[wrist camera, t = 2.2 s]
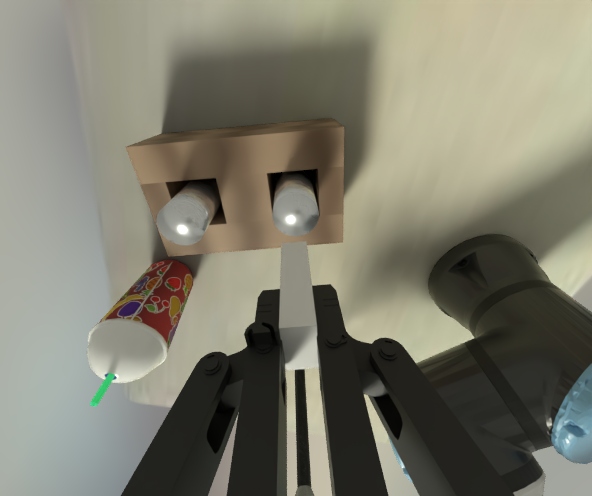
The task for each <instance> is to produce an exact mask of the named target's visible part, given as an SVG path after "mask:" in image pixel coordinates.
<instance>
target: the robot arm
mask: <svg viewBox="0 0 592 496" xmlns="http://www.w3.org/2000/svg"><path fill="white" fill-rule="evenodd" d="M428 288H429V293H430V296H431V297H432V299H433V300H434V302H435V303H436V305H437V306H438V307H439V309H440V310H441V311H442V312H444V313H445V314H447V315H448V316H450V317H452V318H454V319H455V320H456V321H458V322H459V323H460V324H461V325H462V326H464V327H465V328H466V329H468V330H469V331H470V332H471V333H472V335H473V336H474V337H475V338H474V339H472V340H470V341H467V342H465V343H462V344H460V345H458V346H455V347H453V348H451V349H448V350H446V351H444V352H441V353H439V354H437V355H435V356H432V357H430V358H428V359H425V360H423V361H421V362H418V363H415V362H414V360H413V359H412V358H411V356H410V355H409V354H408V352H407V351H406V350H405V348H404V347H403V346H402V345H401V344H400V343H399V342H397V341H395V340H393V339H389V338H379V339H377V340H375V341H374V342H373V343H372V344H369V343H365V342H360V341H357V340H355V339H353V338H352V337H351V336H350V335H349V334H348V333H347V332H346V329H345V326H344V322H343V318H342V314H341V309H340V306H339V301H338V297H337V293H336V290H335V289H334V288H333V287H332V286H331V284H329V285H317V286H312V282H311V274H310V266H309V258H308V250H307V243H306V241H304V242H292V243H282V245H281V277H280V289H276V290H263V291H262V293H261V294H260V296H259V297H258V302H257V310H256V317H255V322H254V323H252V324H251V325H250V326H249V327H248V328H247V329H246V331H245V333H244V335H245V339H246V343H247V347H246V348H245V349H243V350H242V351H240V352H238V353H235V354H232V355H229V356H226V354H224V353H222V352H212V353H209V354H207V355H205V356H204V357H203V358H201V359H200V361H199V362H198V363H197V365H196V366H195V368H194V370H193V371H192V373H191V375H190V377H189V378H188V380H187V382H186V384H185V385H184V387H183V389H182V391H181V392H180V394H179V396H178V397H177V399H176V401H175V403H174V404H173V406H172V408H171V410H170V411H169V413H168V415H167V417H166V418H165V420H164V422H163V424H162V425H161V427H160V429H159V430H158V432H157V434H156V436H155V437H154V439H153V441H152V443H151V444H150V446H149V448H148V450H147V451H146V453H145V455H144V456H143V458H142V460H141V462H140V463H139V465H138V467H137V469H136V470H135V472H134V474H133V476H132V477H131V479H130V481H129V483H128V484H127V486H126V488H125V489H124V491H123V493H122V495H121V496H208V493H209V491H210V488H211V485H212V482H213V480H214V477H215V474H216V472H217V469H218V466H219V464H220V461H221V458H222V456H223V453H224V450H225V447H226V445H227V442H228V439H229V436H230V434H231V431H232V428H233V426H234V423H235V420H236V418H237V415H238V420H237V428H236V434H235V441H234V448H233V456H232V462H231V470H230V477H229V483H228V490H227V496H287V386H286V377H285V368H286V370H298V369H311V368H319V374H320V391H321V396H322V405H323V414H324V423H325V432H326V441H327V450H328V460H329V468H330V478H331V487H332V496H388V492H387V489H386V484H385V480H384V476H383V472H382V468H381V464H380V460H379V456H378V452H377V447H376V443H375V439H374V435H373V431H372V427H371V423H370V419H369V415H368V411H367V407H366V402H365V398H364V394H366V395H368V396H369V398H370V400H371V402H372V404H373V406H374V408H375V410H376V412H377V414H378V416H379V418H380V420H381V422H382V424H383V425H384V427H385V429H386V431H387V433H388V436H389V439H390V443H391V445H392V448H393V451H394V454H395V456H396V458H397V460H398V463H399V464H400V466H401V467H402V468H403V471H404V474H405V475H406V477H407V478H408V479H409V480H410V481H411V482H412V483H413V484H414V486H415V487H416V489H417V491H418V493H419V495H420V496H543V491H544V484H545V477H546V476H545V473H544V471H543V470H542V468H541V467H540V466H539V464H538V462H537V461H536V459H535V458H534V456H533V455H532V452H534V451H537V450H539V449H543V448H547V447H550V446H554V448H555V449H556V451H557V452H558V453H559V454H561V455H563V456H564V457H565V458H566V459H567V460H569V461H571V462H574V463H582V464H587V463H590V462H592V312H591V311H589V310H588V309H586V308H585V307H584V306H582V305H581V304H580V303H578V302H577V301H576V300H574V299H573V298H571V297H570V296H569V295H567V294H566V293H565V292H563V291H562V290H561V289H559V288H558V287H557V286H555V285H554V284H553V283H551V281H550V280H549V278H548V277H547V275H546V274H545V272H544V271H543V270H542V268H541V267H540V266H539V265H538V262H537V260H536V258H535V256H534V255H533V253H532V252H531V251H530V250H529V249H528V248H527V247H525V246H524V245H522V244H521V243H519V242H518V241H516V240H515V239H513V238H511V237H508V236H503V235H485V236H480V237H476V238H473V239H470V240H468V241H465V242H463V243H461V244H459V245H458V246H456V247H454V248H453V249H452V250H450V251H449V252H448V253H446V254H445V255H444V256H443V257H442V258H441V259H440V260H439V262H438V263H437V264H436V266H435V267H434V269H433V271H432V273H431V275H430V278H429V283H428ZM238 412H239V413H238Z"/></svg>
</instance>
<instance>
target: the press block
mask: <svg viewBox="0 0 592 496" xmlns="http://www.w3.org/2000/svg"><path fill="white" fill-rule="evenodd" d="M126 149H127V152H128V155H129V157H130V160H131V162H132V165H133V167H134V170H135V172H136V175H137V178H138V180H139V183H140V185H141V188H142V190H143V193H144V195H145V198H146V200H147V203H148V206H149V208H150V211H151V213H152V216H153V218H154V221H155V223H156V226H157V215H158V213H159V211H160V210H161V209H162V208H163V207H164V206H165V205H166V204H167V203H168V202H169V201H170V200H171V199H172V198H173V197H174V196H175V195H176V194H178V193H179V192H180V191H181V190H182V189H183V188H184V187H185V186H186V185H187V184H188V183H189V182H190V181H191V180H196V179H207V178H216V181H217V185H218V189H219V193H220V197H221V201H222V203H221V205H220V207H219V208H218V210H217V212H216V214H215V215H214V217H213V219H212V221H211V222H210V224H209V226H208V228H207V229H206V231H205V233H204V235H203V236H202V238H201V239H200V240H199V241H198V242H197V243H195V244H192V245H178V244H175V243H173V242H171V241H169V240H167V239H166V238H165V237H164V236H163V235H162V234H161V232H160V231H159V229H158V226H157V229H158V231H159V234H160V236H161V239H162V241H163V244H164V246H165V249H166V251H167V254H168V257H171V256H183V255H195V254H207V253H220V252H232V251H244V250H256V249H268V248H280V247H281V245H282V243H292V242H304V241H306V243H307V245H317V244H329V243H341V242H343V198H344V127H343V126H342V125H341V124H339V123H338V122H337V121H335V120H334V119H332V118H328V119H317V120H306V121H295V122H284V123H273V124H262V125H252V126H241V127H230V128H219V129H208V130H197V131H186V132H176V133H165V134H159V135H157V136H154V137H151V138H149V139H146V140H143V141H141V142H138V143H135V144H133V145H130V146H127V147H126ZM309 169H313V186H314V194H315V198H316V202H317V207H318V211H319V219H318V222H317V224H316V226H315V227H314V228H313V229H312V230H311V231H310V232H309V233H307V234H305V235H302V236H289V235H286V234H284V233H282V232H281V231H280V230H278V228H277V227H276V226H275V224H274V222H273V218H272V213H273V205H274V197H275V181H274V173H275V172H287V171H298V170H309Z"/></svg>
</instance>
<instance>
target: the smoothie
mask: <svg viewBox="0 0 592 496" xmlns="http://www.w3.org/2000/svg"><path fill="white" fill-rule="evenodd" d="M192 286H193V279H192V275H191V272H190V270H189V269H188V268H187V267H186V266H185V265H184V264H182V263H181V262H178V261H176V260H169V259H168V260H162V261H160V262H156V263H154V264H152V265H151V266H150V267H149V268H148V269H147V270H146V272H145V273H144V274H143V275H142V276H141V277H140V278H139V279H138V280H137V281H136V282H135V284H134V285H133V286H132V287H131V288H130V289H129V290H128V291H127V292H126V293H125V294H124V296H123V297H122V298H121V299H120V300H119V301H118V302H117V303H116V304H115V305H114V306H113V308H112V309H111V310H110V311H109V312H108V313H107V314H106V315H105V316H104V317H103V318H102V320H101V321H100V322H99V323H98V324H96V325H95V326H94V327H93V329H92V330H91V331H90V332H89V336H88V343H89V345H88V351H87V358H88V361H89V364H90V367H91V369H92V370H93V371H94V373H95V374H96V375H97V376H99V377H100V378H102V379H104V382H103V383H102V385H101V387H100V388H99V390H98V391H97V393H96V395H95V396H94V398H93V399H92V401H91V403H90V405H91V406H97V405H98V403H99V402H100V400H101V398H102V397H103V395H104V393H105V392H106V390H107V388H108V387H109V385H110V383H111V382H113V383H126V382H131V381H134V380H137V379H139V378H142V377H143V376H145V375H147V374H148V373H149V372H150V371H152V370H153V369H154V368H155V367H158V366H159V365H160V364H162V363H163V362H164V361H165V359H166V357H167V355H168V349H169V347H170V344H171V341H172V339H173V336H174V334H175V331H176V328H177V326H178V323H179V320H180V318H181V315H182V312H183V310H184V307H185V304H186V302H187V299H188V296H189V294H190V291H191V289H192Z"/></svg>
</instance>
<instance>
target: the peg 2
mask: <svg viewBox="0 0 592 496" xmlns="http://www.w3.org/2000/svg"><path fill="white" fill-rule="evenodd" d="M272 218H273V222H274V224H275V226H276V227H277V228H278V230H280V231H281V232H282V233H284V234H286V235H289V236H302V235H305V234H307V233H309V232H310V231H311V230H312V229H313V228H314V227H315V226H316V224H317V222H318V219H319V211H318V207H317V202H316V198H315V194H314V190H313V186H312V182H311V179H310V177H309V176H308V175H307V174H306V173H305V172H304V171H302V170H298V171H287V172H283V173H282V174H281V175H280V176H279V177H278V179H277V182H276V189H275V197H274V205H273V213H272Z"/></svg>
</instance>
